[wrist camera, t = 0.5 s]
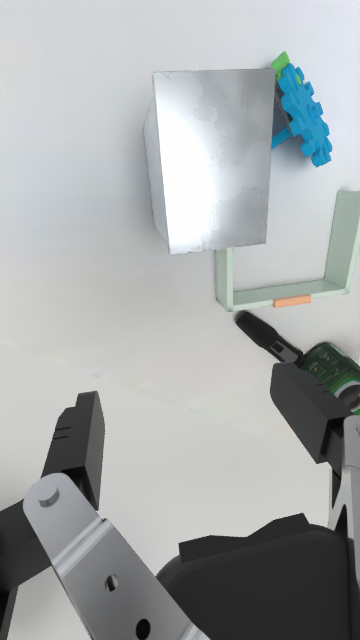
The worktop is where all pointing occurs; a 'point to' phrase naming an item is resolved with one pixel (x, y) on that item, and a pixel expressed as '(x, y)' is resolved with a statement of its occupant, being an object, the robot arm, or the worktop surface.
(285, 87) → the gear
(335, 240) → the bay
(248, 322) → the electric trimmer
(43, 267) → the worktop surface
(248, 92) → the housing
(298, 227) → the worktop surface
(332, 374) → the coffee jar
